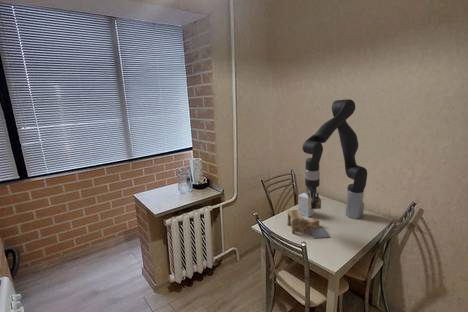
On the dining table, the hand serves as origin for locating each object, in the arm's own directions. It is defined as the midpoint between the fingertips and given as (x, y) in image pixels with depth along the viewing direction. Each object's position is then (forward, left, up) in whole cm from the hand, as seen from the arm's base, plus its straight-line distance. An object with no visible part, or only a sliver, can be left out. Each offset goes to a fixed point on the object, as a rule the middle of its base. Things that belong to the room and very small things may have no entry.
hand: (312, 205), depth 139 cm
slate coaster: (-4, +2, -17) cm, 17 cm away
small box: (-4, -22, -17) cm, 28 cm away
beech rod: (+2, -5, -17) cm, 18 cm away
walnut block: (-1, 0, -1) cm, 1 cm away
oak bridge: (+8, -5, -17) cm, 19 cm away
